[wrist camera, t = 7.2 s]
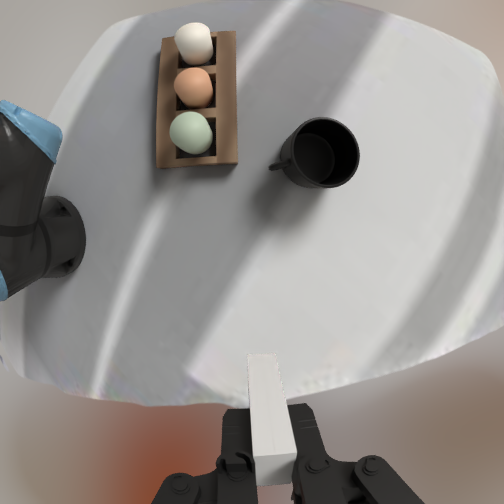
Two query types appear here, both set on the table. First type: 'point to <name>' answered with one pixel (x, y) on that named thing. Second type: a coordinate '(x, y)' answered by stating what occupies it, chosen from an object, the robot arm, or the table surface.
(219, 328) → the table surface
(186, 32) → the white egg
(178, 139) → the pale green egg
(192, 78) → the peach egg
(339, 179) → the mug
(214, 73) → the wooden tray
